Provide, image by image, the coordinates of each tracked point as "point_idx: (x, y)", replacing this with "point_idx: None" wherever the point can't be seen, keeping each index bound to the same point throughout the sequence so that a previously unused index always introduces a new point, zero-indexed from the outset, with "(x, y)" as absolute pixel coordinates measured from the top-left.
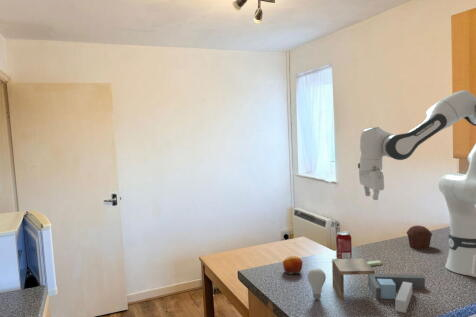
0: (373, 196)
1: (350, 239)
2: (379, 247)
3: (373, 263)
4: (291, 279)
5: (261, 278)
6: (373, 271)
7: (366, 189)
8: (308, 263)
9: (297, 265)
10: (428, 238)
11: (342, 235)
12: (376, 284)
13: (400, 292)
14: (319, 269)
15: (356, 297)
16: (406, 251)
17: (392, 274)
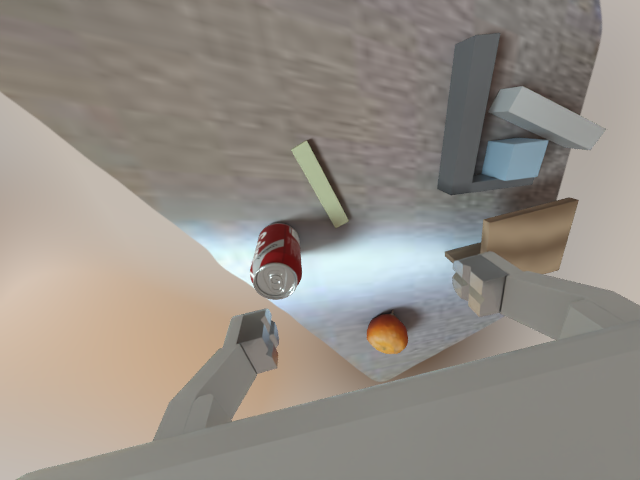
0: (501, 305)
1: (288, 252)
2: (117, 125)
3: (320, 167)
4: (413, 318)
5: (409, 355)
6: (575, 202)
7: (232, 396)
8: (328, 306)
9: (405, 328)
10: None
11: (296, 282)
12: (515, 181)
13: (564, 131)
14: None
15: (498, 215)
16: (121, 8)
17: (463, 133)
